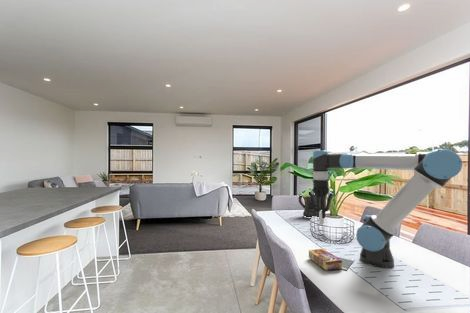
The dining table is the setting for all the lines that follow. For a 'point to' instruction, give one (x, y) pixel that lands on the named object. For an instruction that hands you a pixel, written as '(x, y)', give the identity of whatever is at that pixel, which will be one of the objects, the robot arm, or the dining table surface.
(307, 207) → the beer stein
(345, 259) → the mat
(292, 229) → the dining table surface
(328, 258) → the candy box
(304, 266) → the dining table surface
